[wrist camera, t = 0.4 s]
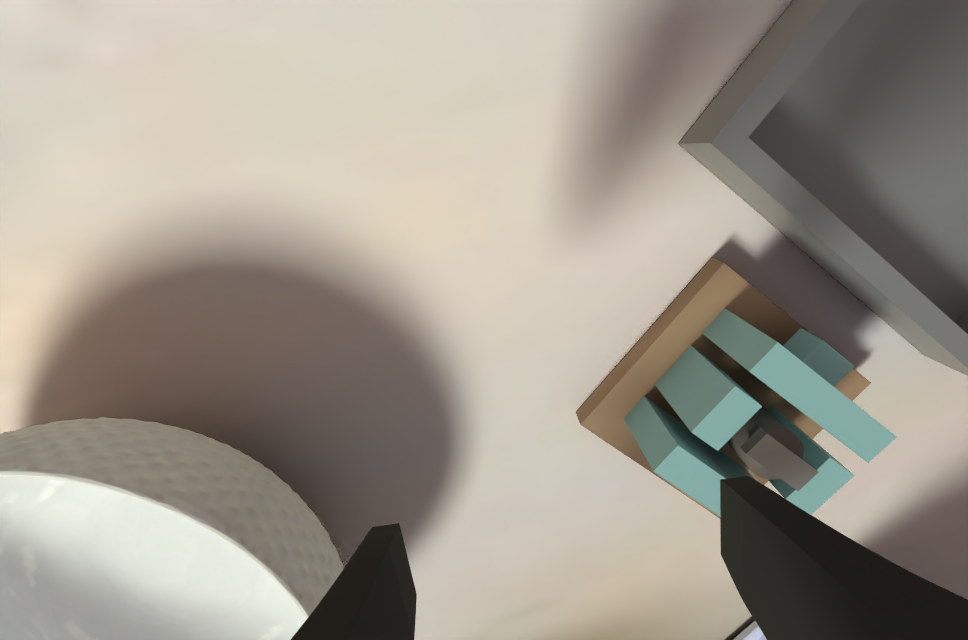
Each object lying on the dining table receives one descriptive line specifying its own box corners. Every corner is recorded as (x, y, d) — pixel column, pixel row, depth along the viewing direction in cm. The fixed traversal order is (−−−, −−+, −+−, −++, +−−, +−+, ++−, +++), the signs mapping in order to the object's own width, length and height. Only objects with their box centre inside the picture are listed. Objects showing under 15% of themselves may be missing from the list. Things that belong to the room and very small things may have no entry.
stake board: (853, 372, 21) (963, 437, 16) (714, 506, 23) (777, 599, 18) (711, 257, 19) (789, 293, 15) (575, 412, 21) (605, 488, 17)
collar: (846, 369, 20) (921, 414, 17) (725, 488, 22) (771, 550, 18) (743, 286, 19) (802, 316, 15) (623, 418, 20) (653, 471, 17)
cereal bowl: (253, 299, 20) (139, 379, 13) (440, 608, 25) (428, 780, 18) (-104, 460, 21) (-365, 602, 15) (137, 716, 26) (23, 910, 20)
